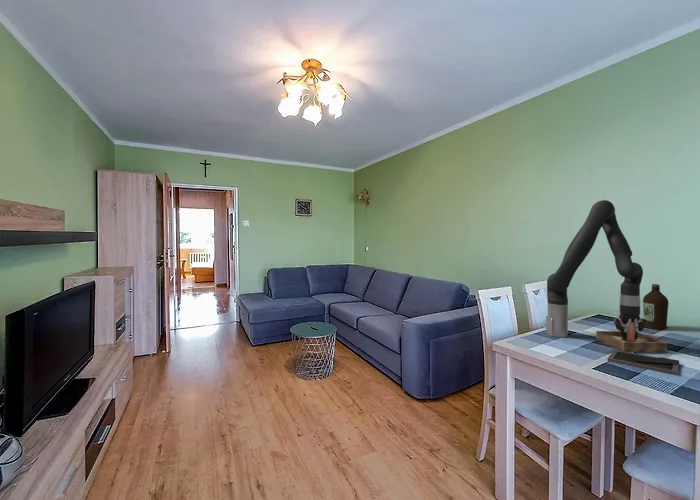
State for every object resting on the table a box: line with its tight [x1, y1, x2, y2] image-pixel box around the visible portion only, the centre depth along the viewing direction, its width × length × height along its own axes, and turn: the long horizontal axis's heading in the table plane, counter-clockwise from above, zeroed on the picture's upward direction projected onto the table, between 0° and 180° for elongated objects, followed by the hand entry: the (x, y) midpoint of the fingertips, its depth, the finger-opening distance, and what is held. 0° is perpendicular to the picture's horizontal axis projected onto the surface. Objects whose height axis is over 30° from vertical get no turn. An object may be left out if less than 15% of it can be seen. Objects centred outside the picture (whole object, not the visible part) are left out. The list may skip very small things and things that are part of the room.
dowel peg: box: [624, 322, 635, 342], centre depth 155 cm, size 4×4×11 cm
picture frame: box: [607, 348, 680, 376], centre depth 135 cm, size 16×2×21 cm
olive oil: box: [642, 283, 669, 331], centre depth 184 cm, size 11×11×25 cm
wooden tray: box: [595, 330, 668, 354], centre depth 155 cm, size 18×18×4 cm
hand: (629, 339), depth 155 cm, fingers closed on dowel peg, 4 cm apart
